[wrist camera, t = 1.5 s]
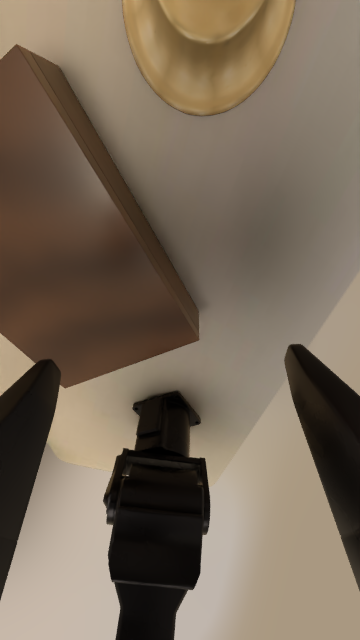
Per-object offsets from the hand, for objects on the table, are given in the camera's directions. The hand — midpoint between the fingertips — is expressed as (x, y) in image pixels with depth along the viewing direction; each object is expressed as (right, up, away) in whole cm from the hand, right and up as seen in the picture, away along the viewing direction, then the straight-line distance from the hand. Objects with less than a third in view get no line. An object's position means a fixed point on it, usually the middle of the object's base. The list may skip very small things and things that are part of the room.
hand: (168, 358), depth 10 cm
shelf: (-8, +6, +11) cm, 15 cm away
